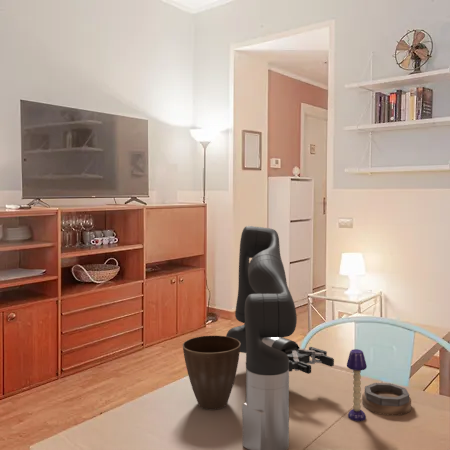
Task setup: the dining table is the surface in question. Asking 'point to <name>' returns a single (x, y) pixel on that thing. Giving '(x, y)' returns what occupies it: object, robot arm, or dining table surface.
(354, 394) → the toy lamp
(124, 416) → the dining table surface
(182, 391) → the dining table surface
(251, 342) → the robot arm
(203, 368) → the plant pot
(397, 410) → the plinth
